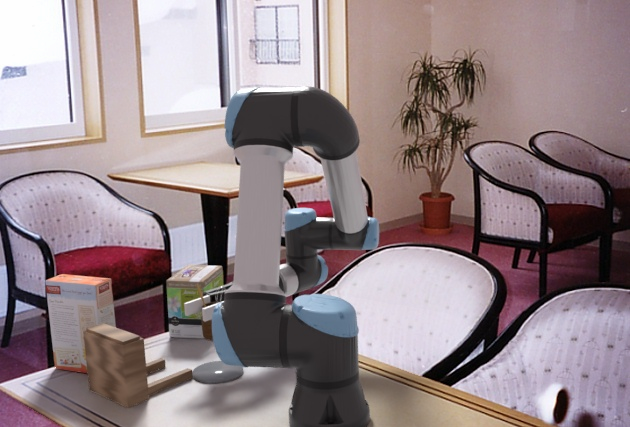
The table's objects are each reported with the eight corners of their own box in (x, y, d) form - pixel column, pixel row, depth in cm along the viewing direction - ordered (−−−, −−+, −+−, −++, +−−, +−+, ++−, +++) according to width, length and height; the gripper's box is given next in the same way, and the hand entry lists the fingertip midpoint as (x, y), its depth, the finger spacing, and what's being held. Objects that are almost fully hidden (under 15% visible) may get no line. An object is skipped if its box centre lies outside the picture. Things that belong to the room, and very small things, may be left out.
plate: (254, 370, 177) (253, 368, 177) (215, 387, 169) (215, 385, 169) (220, 359, 184) (220, 356, 184) (182, 375, 176) (181, 372, 176)
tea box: (207, 339, 197) (203, 280, 194) (168, 338, 199) (163, 280, 196) (226, 318, 211) (222, 263, 208) (189, 317, 213) (185, 263, 210)
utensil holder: (229, 340, 172) (224, 286, 170) (199, 342, 172) (194, 288, 170) (232, 330, 178) (227, 278, 175) (203, 332, 178) (198, 279, 175)
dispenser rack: (197, 379, 174) (192, 318, 171) (128, 408, 161) (122, 343, 158) (157, 364, 183) (152, 306, 180) (89, 390, 170) (82, 328, 168)
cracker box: (121, 367, 182) (112, 277, 178) (103, 377, 177) (94, 285, 172) (72, 359, 188) (62, 272, 184) (54, 369, 183) (43, 279, 178)
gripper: (303, 307, 181) (224, 338, 165) (247, 292, 193) (169, 320, 177) (301, 275, 180) (222, 303, 163) (245, 262, 192) (166, 287, 175)
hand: (194, 312), depth 170 cm, fingers closed on utensil holder, 5 cm apart
